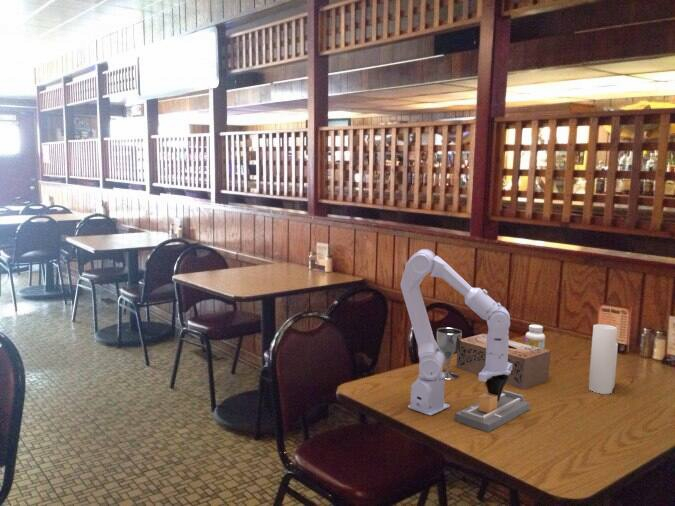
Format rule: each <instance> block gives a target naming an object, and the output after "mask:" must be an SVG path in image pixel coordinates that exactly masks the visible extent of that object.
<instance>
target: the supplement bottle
mask: <svg viewBox="0 0 675 506" xmlns="http://www.w3.org/2000/svg"><path fill="white" fill-rule="evenodd" d="M528 330H529V331H527V332H526V333H525V336H524V338H525V339H524V344H526V345H530V346H534V347H538V348H542V349H545V346H546V345H545V343H546V335H545V334H544V333H543V330H544V326H542V325H540V324H530V325H528Z"/></svg>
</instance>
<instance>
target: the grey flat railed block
mask: <svg viewBox="0 0 675 506" xmlns="http://www.w3.org/2000/svg"><path fill="white" fill-rule="evenodd" d="M530 407H531V402H528V401H525V395H523V394H519V393H516V392H514V391H508V390H506V389H504V390H502V393H501V396H500V399H499V401H498V402H497V409H495V410H493V411H491V412H489V413H486V412H483V411H480V410H478V409H479V401H478V402H476V403H473V404H471V405H470V406H468V407H466V408H463V409H462V410H459V411H457V412H455V414H454V421H455V422H457V423H460V424H463V425H465V426H469V427H472V428H475V429H477V430H480V431H483V432H485V433H490V432H492V431H494V430H496V429H498V428H499V427H501V426H503V425H504V424H506V423H508V422H510V421H512V420H513V419H515V418H518V416H520V415H522V414H525V413H526V412H527V411H529V410H530Z"/></svg>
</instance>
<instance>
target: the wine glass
mask: <svg viewBox="0 0 675 506" xmlns="http://www.w3.org/2000/svg"><path fill="white" fill-rule="evenodd" d="M462 333H463V332H462V330H461V329H458V328H454V327H439V328H437V329H436V342H437V344H438V347H439V349H440V351H441V352H442V353H443V354H444V356H445V363H446V368H445V369H446V371H443V373H444V374H445V380H455V379H456V380H457V379H458V378H459V377H460V376H459V375H458V374H457V373H455V372H451V371H450V363H451V359H452V356H454V355H455V353H457V350H458V349H459V347H460V344H461V339H463V337H462V336H463V334H462Z"/></svg>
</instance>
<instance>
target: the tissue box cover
mask: <svg viewBox="0 0 675 506" xmlns="http://www.w3.org/2000/svg"><path fill="white" fill-rule="evenodd" d="M487 334H488V333H479V334H477V335H473V336H468V337H464V338H461V344H460V347H459V349H458V350H457V351H456V365H455V366H456V367H455V368H456V369H459V370H462V371H464V372H468V373H471V374H474V375H477V376H479V373H480V372H481V371H482V370H483V368H484V367H485V361H486V342H487ZM550 361H551V350H549V349H545V348H544V349H542V348H538V347H534V346H530V345H526V344H525V343H523V342H518V341H514V340H510V339H509V345H508V362H509V363H512V370H511V374H509V375H507V376H509V378H508V380H507V382H506V383H505V385H509V386H511V387H513V388H514V387H515V388H516V389H520V390H526V389H528V388H531V387H533V386H536V385H538V384H542V383H544V381H545V382H547V381H549V379H550V378H549V376H550V366H551V365H550V363H551V362H550ZM504 375H506V374H504Z"/></svg>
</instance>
